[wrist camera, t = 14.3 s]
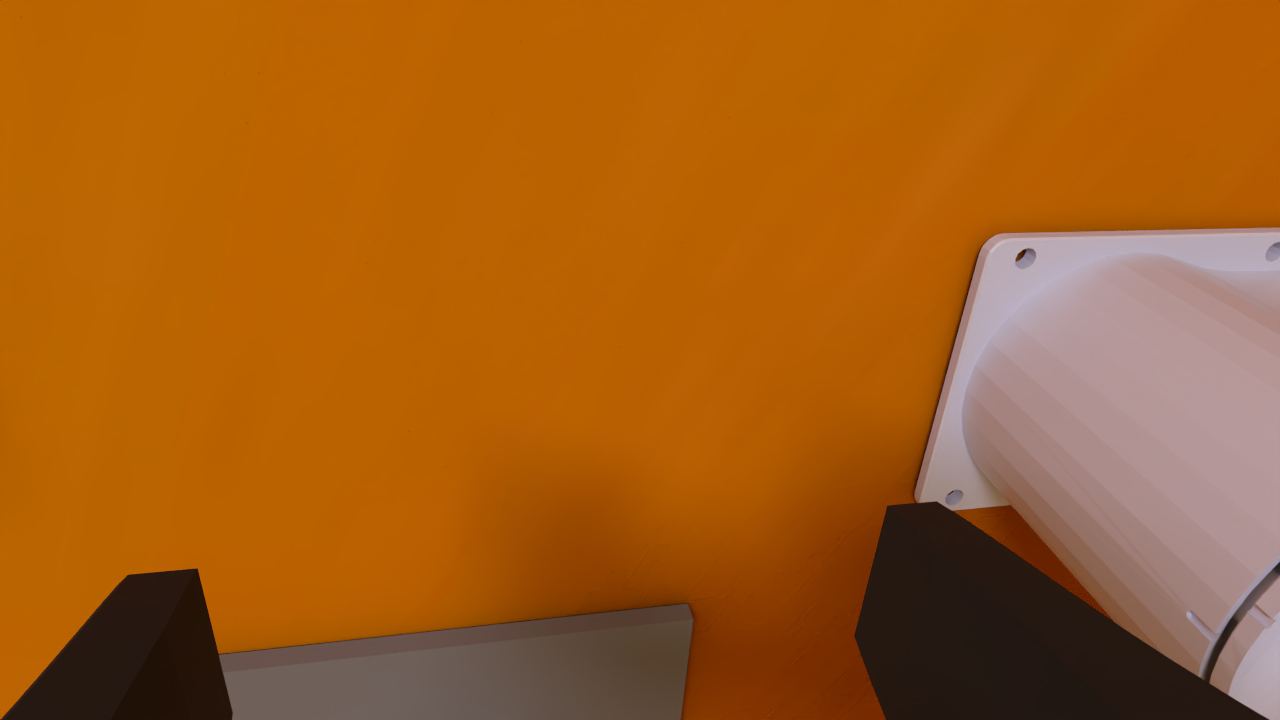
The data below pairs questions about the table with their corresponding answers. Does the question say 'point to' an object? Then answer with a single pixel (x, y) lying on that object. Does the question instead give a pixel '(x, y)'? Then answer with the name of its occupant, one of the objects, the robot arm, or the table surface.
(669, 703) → the charcoal mat
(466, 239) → the table surface
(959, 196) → the table surface
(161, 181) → the table surface
